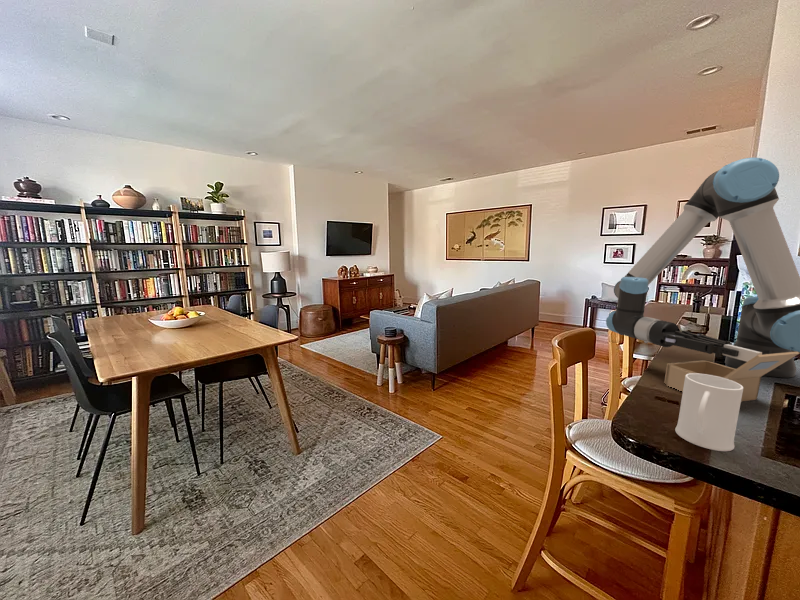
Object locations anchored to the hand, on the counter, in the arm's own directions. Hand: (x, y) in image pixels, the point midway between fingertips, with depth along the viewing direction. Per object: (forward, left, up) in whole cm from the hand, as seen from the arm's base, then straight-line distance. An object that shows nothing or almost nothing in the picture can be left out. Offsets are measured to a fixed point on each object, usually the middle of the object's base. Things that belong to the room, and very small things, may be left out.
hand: (758, 358), depth 75 cm
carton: (-1, -9, -12) cm, 15 cm away
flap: (-1, -3, -6) cm, 7 cm away
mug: (+28, +8, -12) cm, 31 cm away
